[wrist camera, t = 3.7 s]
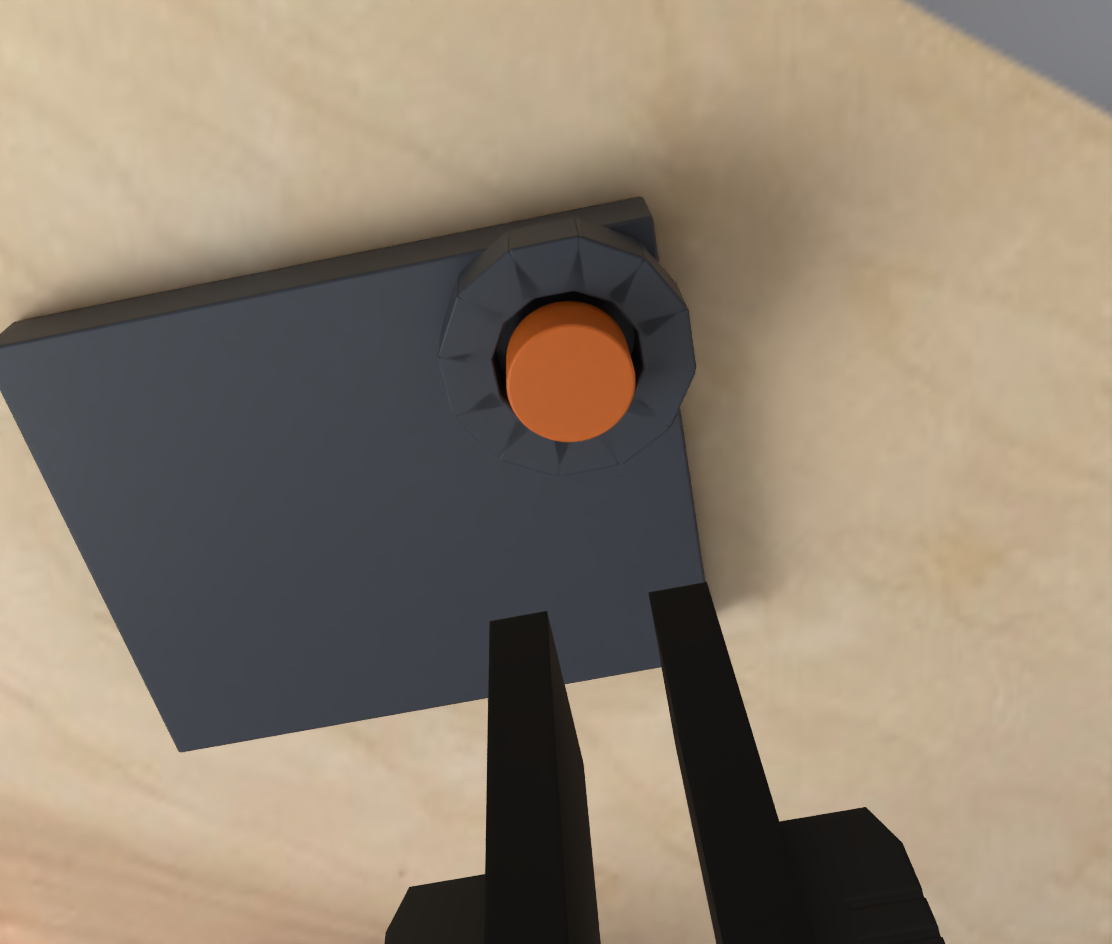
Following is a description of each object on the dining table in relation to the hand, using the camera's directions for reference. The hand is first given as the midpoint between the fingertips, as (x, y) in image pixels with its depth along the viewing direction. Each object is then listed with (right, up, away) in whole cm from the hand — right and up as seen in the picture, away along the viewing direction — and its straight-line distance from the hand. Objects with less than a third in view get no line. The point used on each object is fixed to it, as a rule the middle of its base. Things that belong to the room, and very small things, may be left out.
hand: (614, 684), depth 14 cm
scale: (-5, +3, +15) cm, 16 cm away
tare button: (-1, +5, +10) cm, 11 cm away
